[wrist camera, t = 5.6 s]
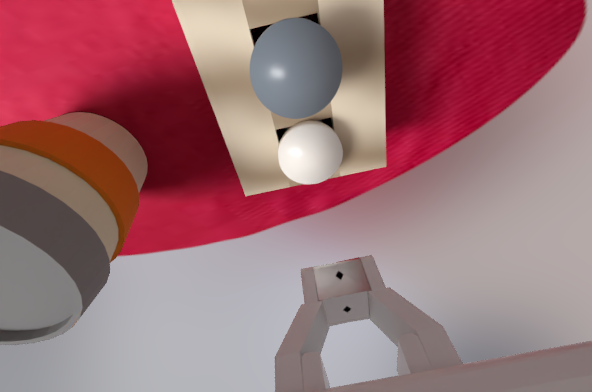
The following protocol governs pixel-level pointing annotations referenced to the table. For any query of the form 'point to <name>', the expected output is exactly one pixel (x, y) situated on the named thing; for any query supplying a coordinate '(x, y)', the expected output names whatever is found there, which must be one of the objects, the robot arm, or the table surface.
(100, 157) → the reusable coffee cup
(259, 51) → the plunger middle
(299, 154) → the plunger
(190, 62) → the table surface
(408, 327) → the robot arm
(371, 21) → the wooden peg holder
